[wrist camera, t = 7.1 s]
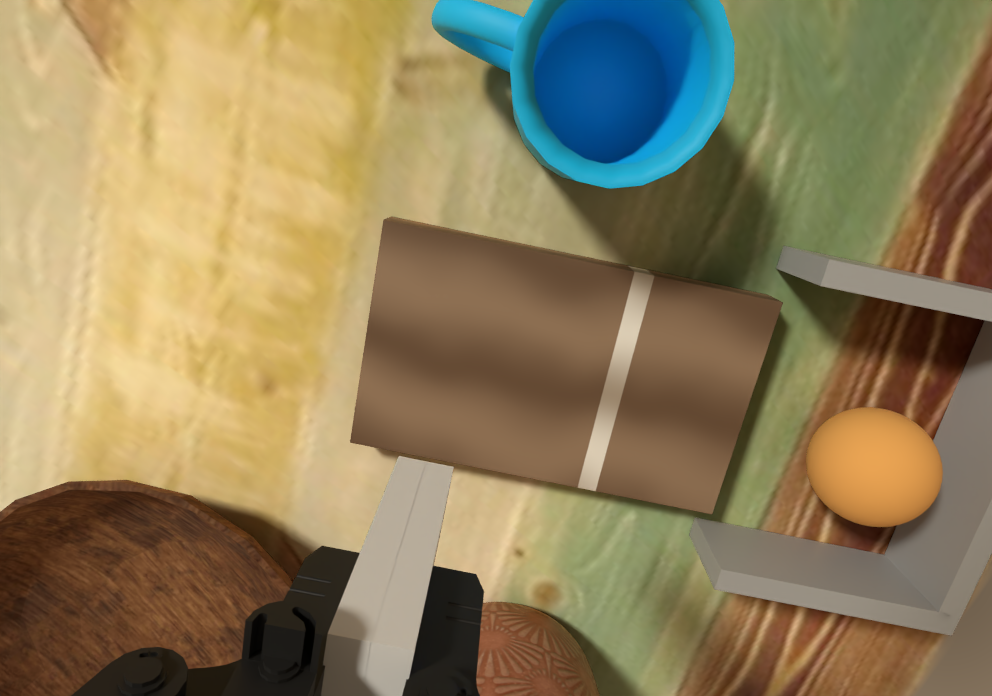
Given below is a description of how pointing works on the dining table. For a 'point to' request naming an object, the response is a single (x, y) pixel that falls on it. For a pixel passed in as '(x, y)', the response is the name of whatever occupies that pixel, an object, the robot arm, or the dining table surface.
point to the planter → (529, 655)
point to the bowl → (121, 583)
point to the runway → (557, 365)
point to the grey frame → (914, 545)
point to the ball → (874, 467)
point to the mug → (605, 79)
